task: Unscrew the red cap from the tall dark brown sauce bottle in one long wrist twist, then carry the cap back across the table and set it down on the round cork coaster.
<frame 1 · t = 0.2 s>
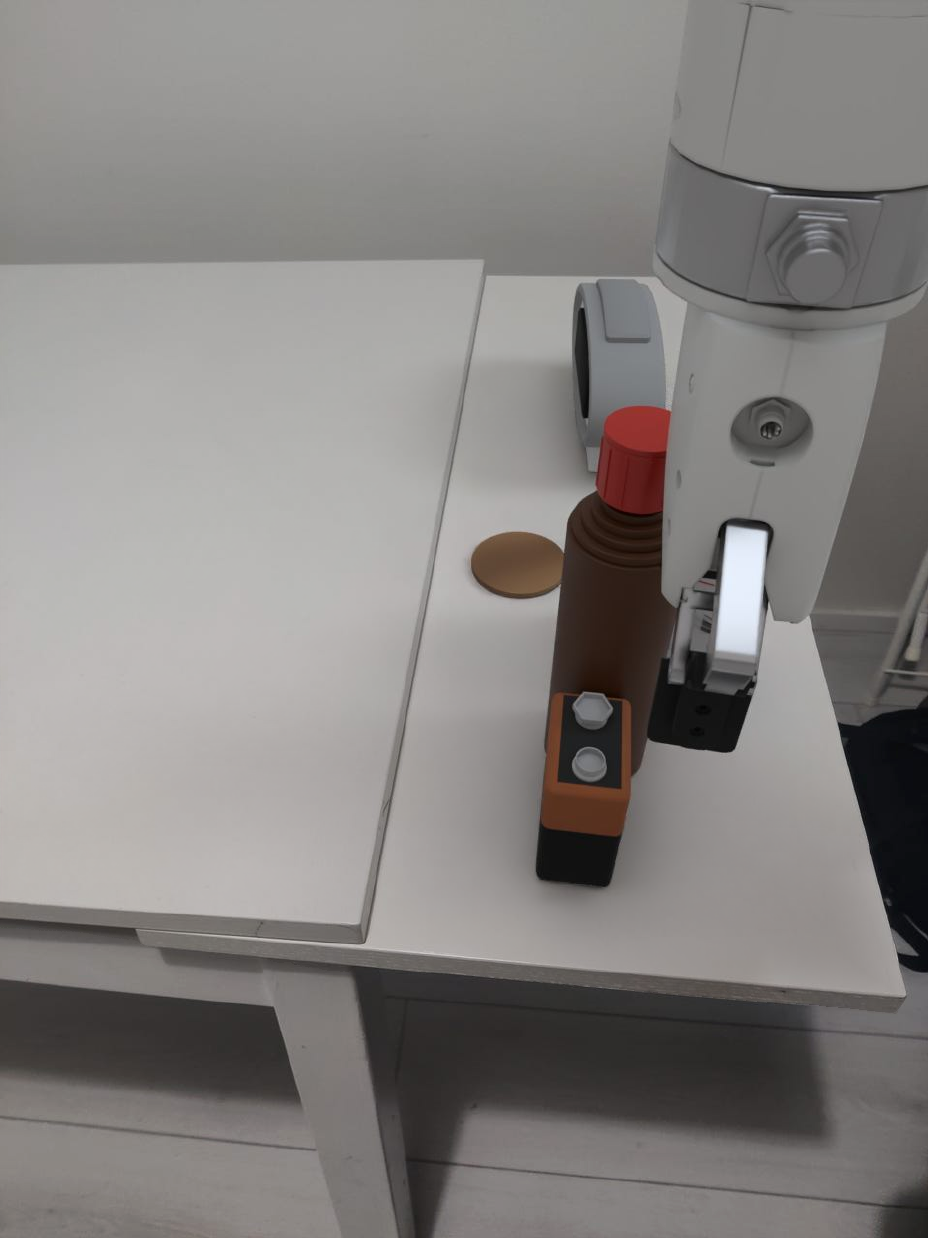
hand: (692, 649, 36), 20 cm above the table, tool pointing down, fingers open, 9 cm apart
ink box: (648, 656, 63), on the table
battery: (574, 837, 52), on the table
bottle: (593, 747, 57), on the table
coaster: (518, 565, 70), on the table
cap: (646, 433, 40), point 24 cm above the table, screwed on, not yet turned
alarm clock: (605, 424, 85), on the table
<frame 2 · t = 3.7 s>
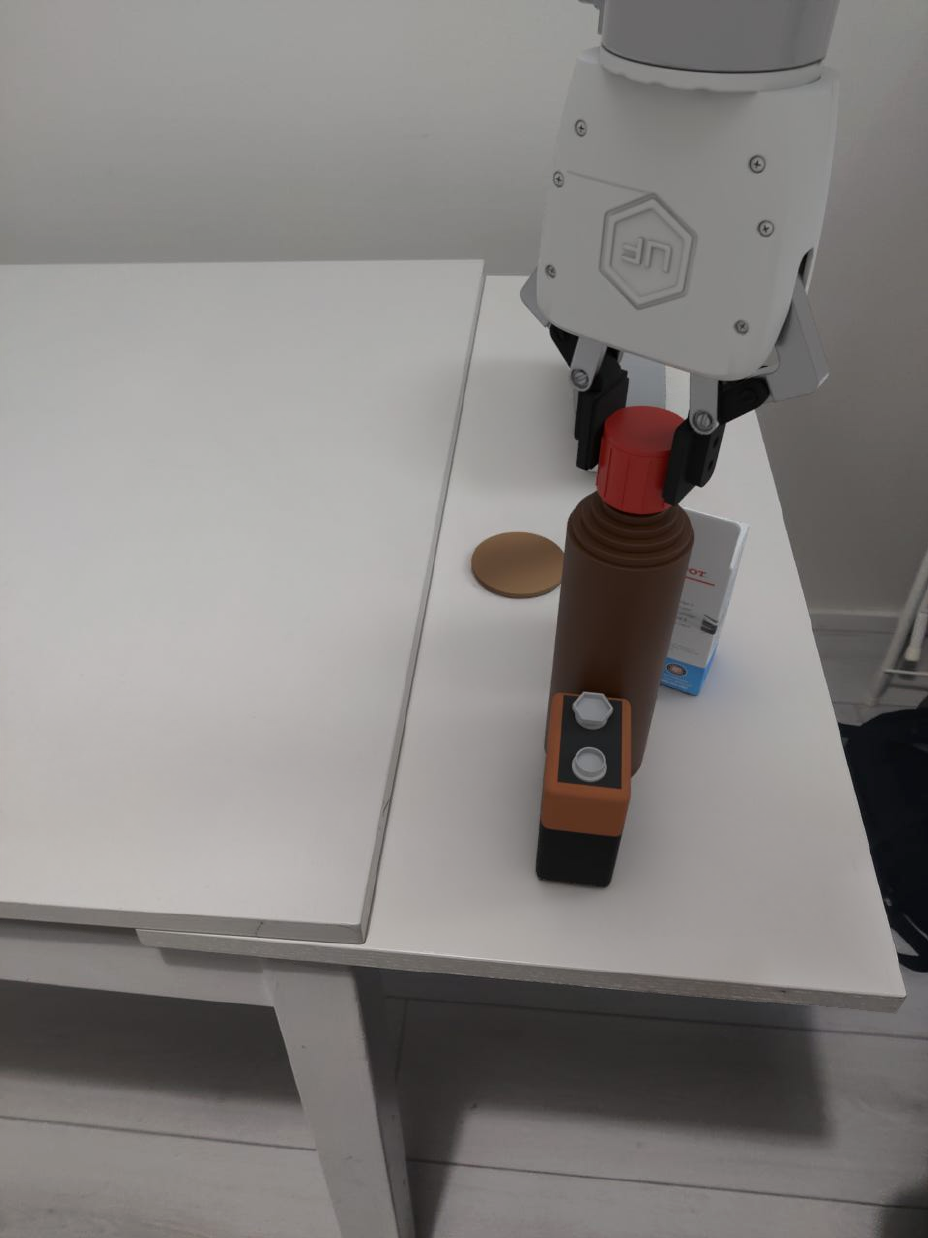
hand: (639, 470, 42), 22 cm above the table, tool pointing down, fingers closed on cap, 3 cm apart
cap: (646, 433, 40), point 24 cm above the table, screwed on, not yet turned, touching gripper
everything else where it was.
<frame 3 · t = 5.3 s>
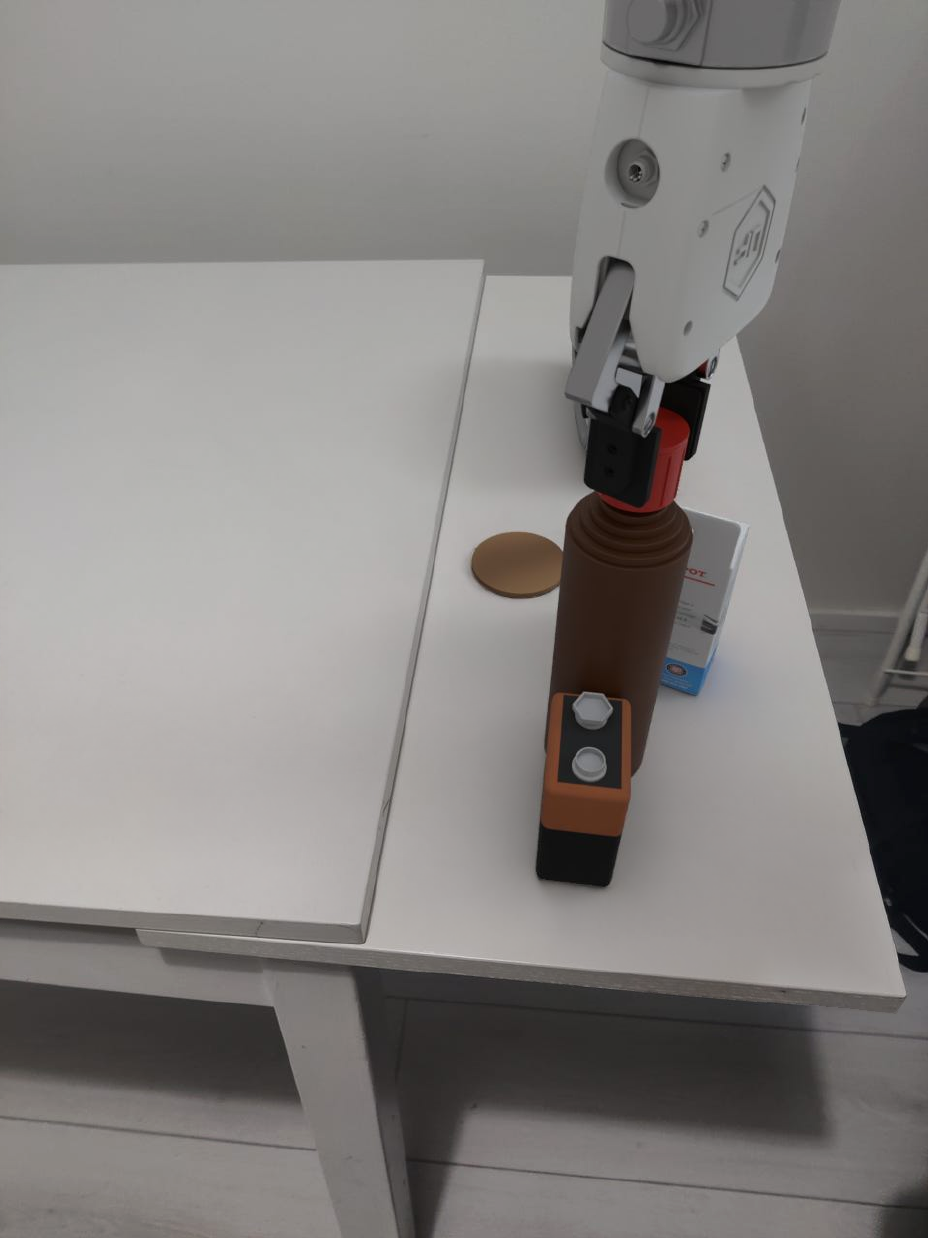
hand: (640, 468, 42), 22 cm above the table, tool pointing down, fingers closed on cap, 3 cm apart
cap: (645, 431, 40), point 24 cm above the table, turned 90° so far, risen 0.1 cm, still on its thread, touching gripper
everything else where it was.
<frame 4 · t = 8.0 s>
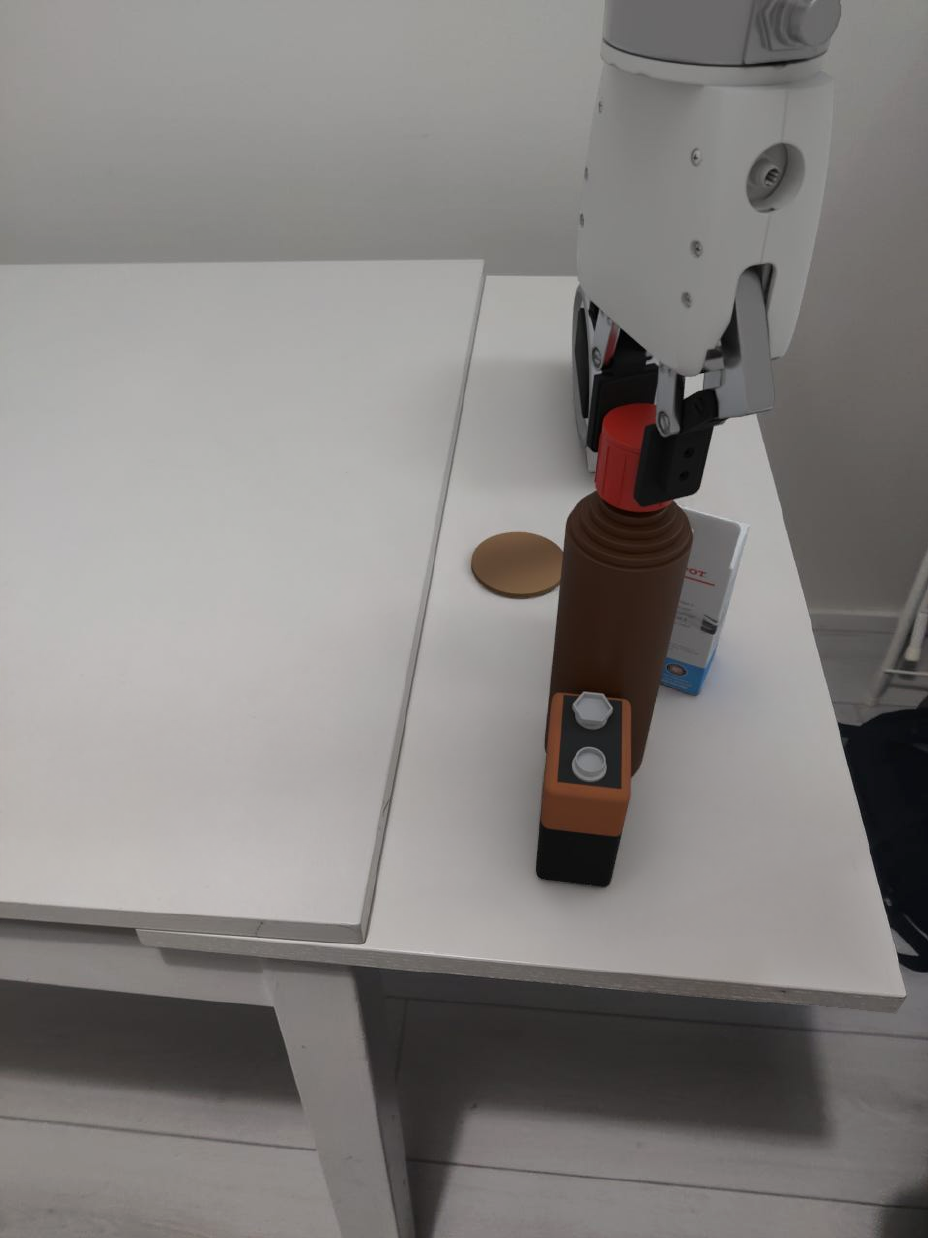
hand: (640, 466, 42), 22 cm above the table, tool pointing down, fingers closed on cap, 3 cm apart
cap: (645, 430, 40), point 24 cm above the table, turned 148° so far, risen 0.1 cm, still on its thread, touching gripper
everything else where it was.
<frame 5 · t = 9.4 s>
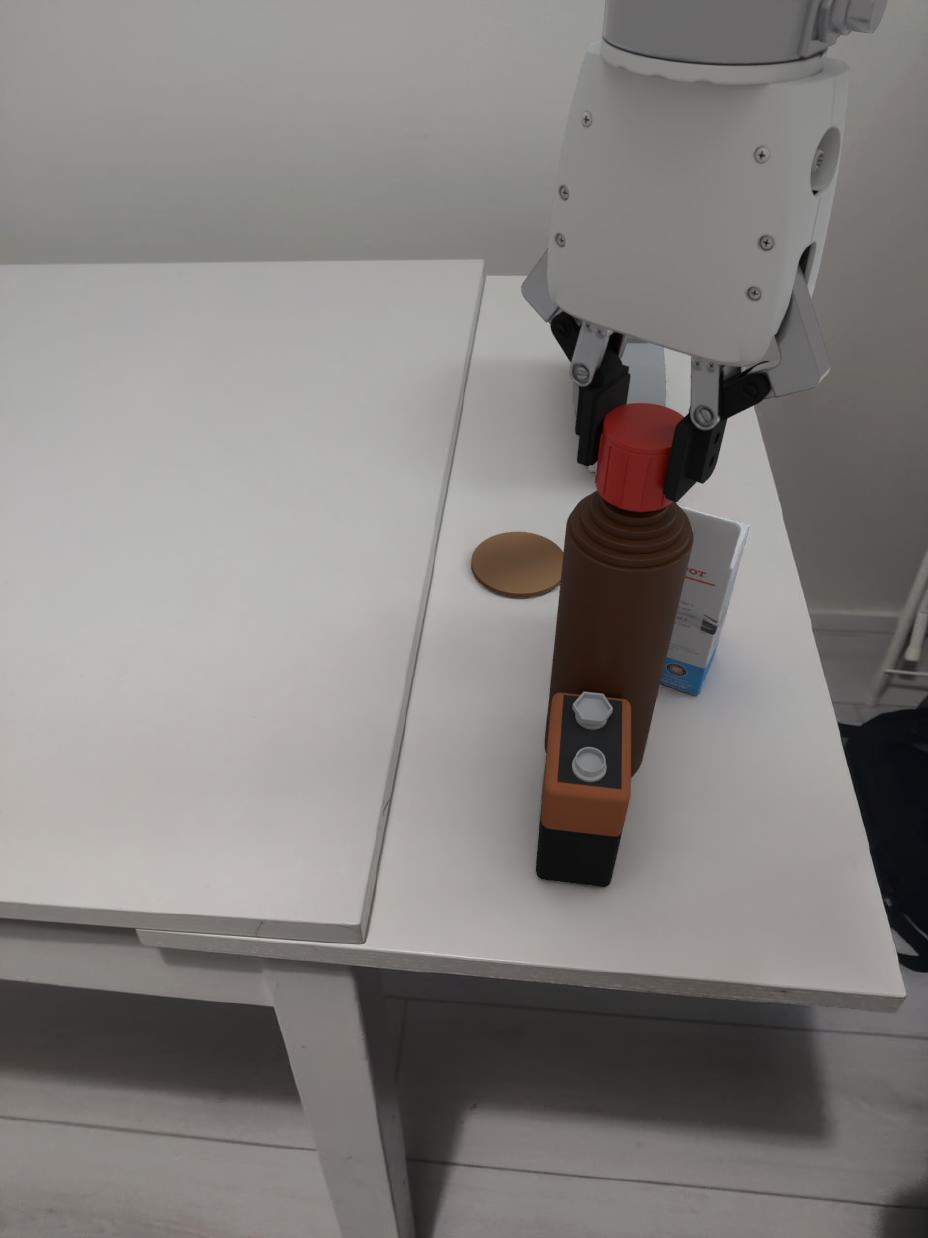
hand: (640, 466, 42), 22 cm above the table, tool pointing down, fingers closed on cap, 3 cm apart
cap: (646, 430, 40), point 24 cm above the table, turned 180° so far, risen 0.2 cm, still on its thread, touching gripper
everything else where it was.
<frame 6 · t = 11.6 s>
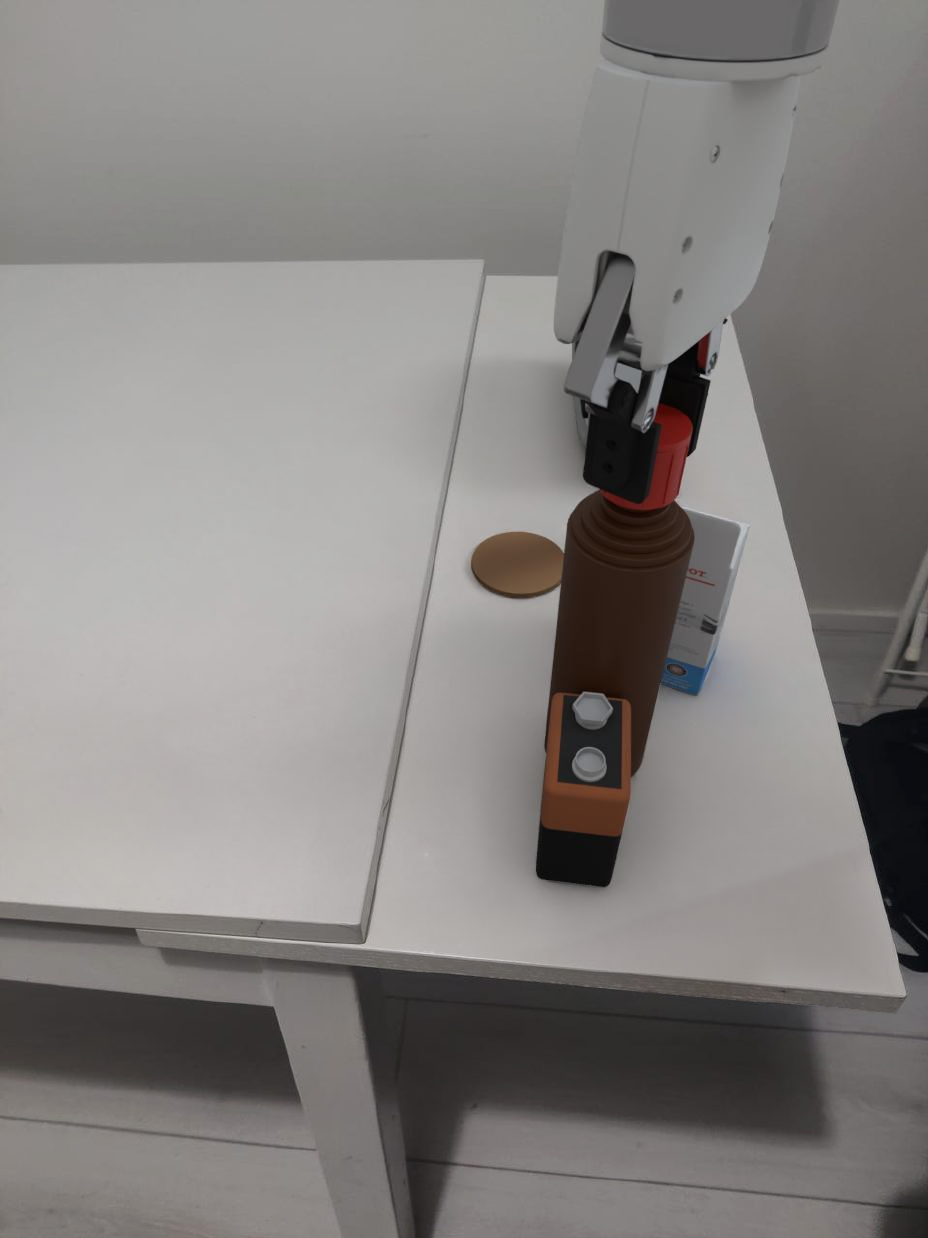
hand: (639, 464, 42), 22 cm above the table, tool pointing down, fingers closed on cap, 3 cm apart
cap: (647, 428, 40), point 24 cm above the table, turned 270° so far, risen 0.3 cm, still on its thread, touching gripper
everything else where it was.
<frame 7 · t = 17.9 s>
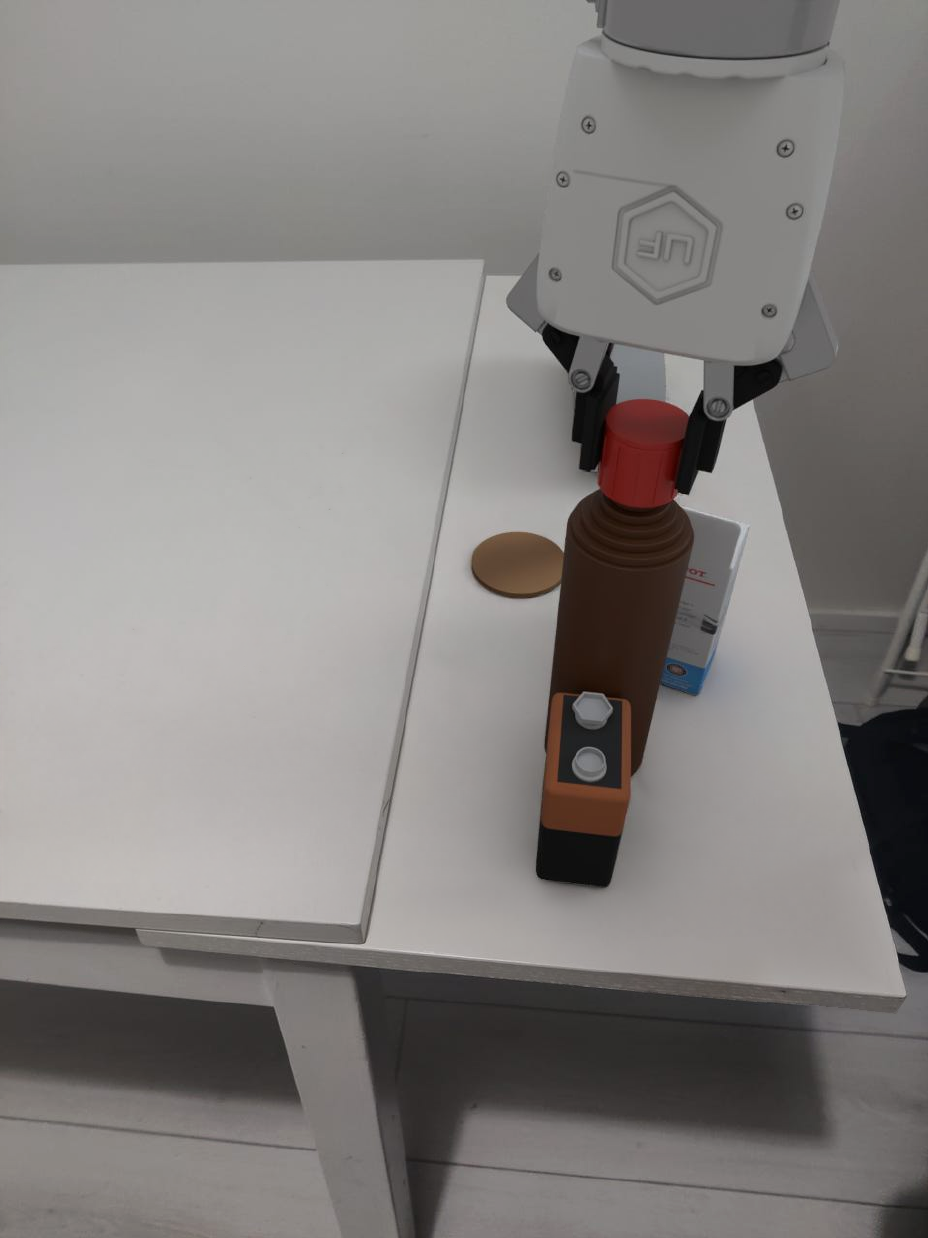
hand: (641, 463, 41), 22 cm above the table, tool pointing down, fingers closed on cap, 3 cm apart
cap: (647, 426, 40), point 24 cm above the table, off its thread, touching gripper
everything else where it was.
when the fingers open (2 cm above the table, at t = 28.9 s): cap stays where it is, resting on coaster.
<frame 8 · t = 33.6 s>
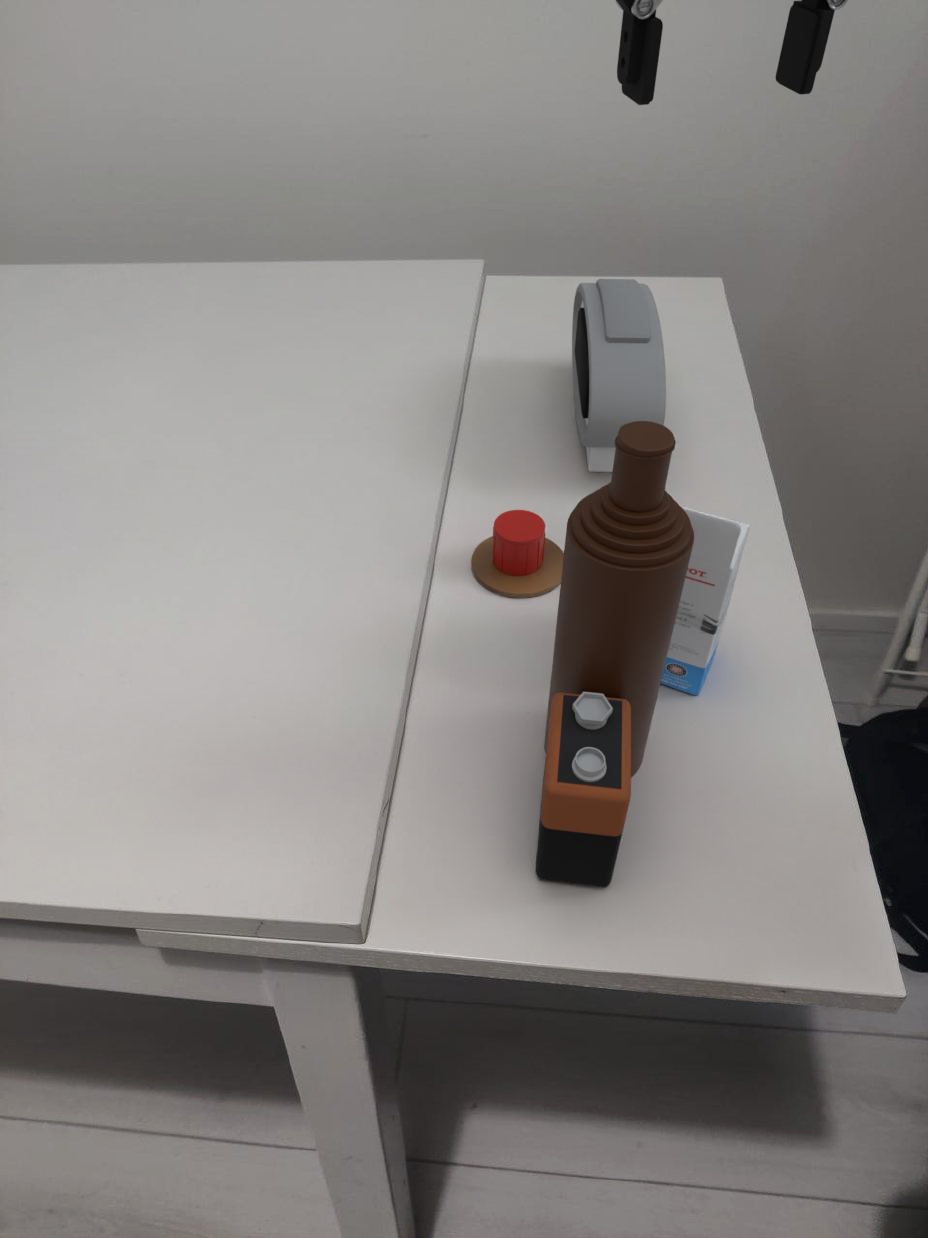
hand: (715, 93, 50), 32 cm above the table, tool pointing down, fingers open, 9 cm apart
cap: (519, 528, 67), point 4 cm above the table, off its thread, touching coaster
everything else where it was.
at the end: cap inside the target area on the coaster (0.2 cm from its centre), point 3.7 cm above the coaster's base; cap point 3.7 cm above the table; the gripper is holding nothing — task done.
